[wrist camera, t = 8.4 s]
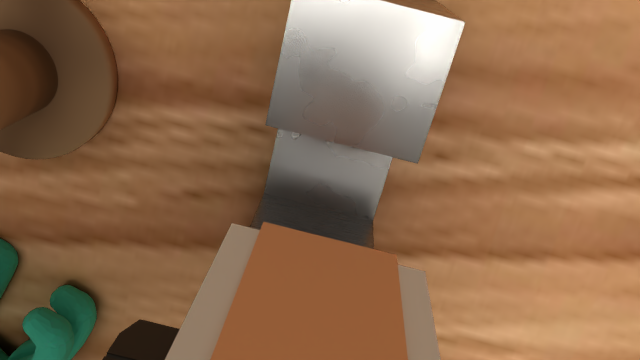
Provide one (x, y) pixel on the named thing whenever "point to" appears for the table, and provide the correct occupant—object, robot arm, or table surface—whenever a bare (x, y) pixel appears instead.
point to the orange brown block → (314, 302)
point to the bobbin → (52, 77)
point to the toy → (50, 318)
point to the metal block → (351, 108)
